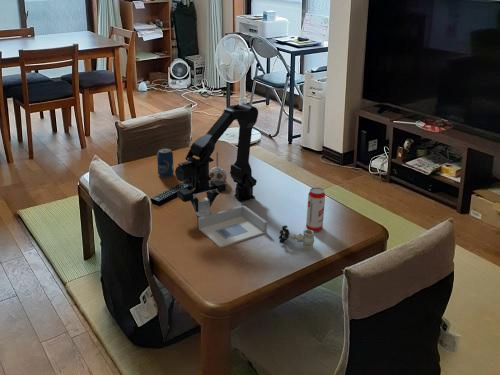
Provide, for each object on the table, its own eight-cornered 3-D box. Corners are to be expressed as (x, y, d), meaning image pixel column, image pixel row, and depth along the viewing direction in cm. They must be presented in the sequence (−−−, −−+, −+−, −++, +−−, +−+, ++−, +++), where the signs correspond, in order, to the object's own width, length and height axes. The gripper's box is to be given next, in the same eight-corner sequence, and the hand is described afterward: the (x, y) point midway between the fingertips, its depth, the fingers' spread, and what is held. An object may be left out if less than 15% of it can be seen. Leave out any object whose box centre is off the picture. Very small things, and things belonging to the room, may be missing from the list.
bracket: (195, 214, 226) (195, 200, 223) (206, 211, 228) (206, 197, 226) (205, 222, 220) (205, 208, 217) (216, 219, 222) (216, 205, 220)
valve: (316, 245, 207) (285, 237, 211) (317, 229, 204) (285, 221, 208) (310, 254, 201) (278, 246, 206) (311, 237, 198) (279, 230, 203)
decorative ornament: (206, 186, 249) (205, 154, 242) (211, 179, 255) (210, 147, 249) (223, 188, 247) (223, 156, 241) (228, 181, 254) (228, 149, 247)
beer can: (324, 226, 219) (327, 188, 212) (320, 234, 214) (323, 195, 207) (308, 223, 221) (310, 185, 214) (304, 231, 215) (306, 192, 208)
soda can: (156, 177, 256) (154, 152, 251) (160, 171, 262) (159, 146, 257) (171, 178, 255) (170, 153, 250) (175, 172, 261) (174, 147, 256)
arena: (243, 215, 226) (243, 204, 224) (266, 232, 214) (267, 221, 212) (198, 228, 216) (198, 217, 214) (220, 247, 204) (220, 236, 202)
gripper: (212, 161, 230) (212, 196, 236) (169, 171, 220) (171, 207, 227) (226, 171, 221) (226, 207, 228) (183, 182, 212) (184, 219, 219)
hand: (202, 210), depth 226 cm, fingers closed on bracket, 5 cm apart
